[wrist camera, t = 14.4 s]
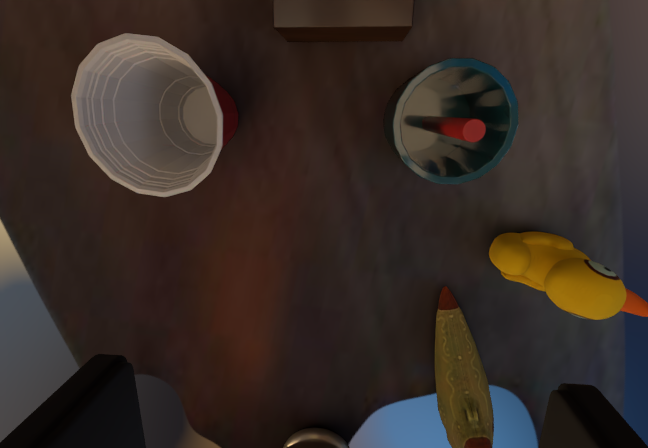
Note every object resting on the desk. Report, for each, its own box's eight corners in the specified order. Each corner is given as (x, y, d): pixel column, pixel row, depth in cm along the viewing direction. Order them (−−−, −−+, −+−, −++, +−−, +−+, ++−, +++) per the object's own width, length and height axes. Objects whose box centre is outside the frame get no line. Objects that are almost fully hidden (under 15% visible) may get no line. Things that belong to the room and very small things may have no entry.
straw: (422, 116, 35) (463, 118, 21) (436, 116, 34) (487, 118, 21) (421, 130, 35) (461, 142, 22) (435, 131, 35) (484, 142, 21)
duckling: (601, 245, 37) (686, 291, 28) (575, 292, 39) (647, 351, 29) (491, 211, 37) (538, 246, 27) (470, 259, 39) (507, 308, 29)
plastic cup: (147, 153, 38) (58, 170, 27) (167, 42, 35) (75, 8, 24) (248, 187, 38) (202, 219, 27) (277, 80, 35) (239, 65, 24)
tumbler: (385, 73, 34) (396, 58, 25) (480, 73, 34) (528, 57, 24) (380, 164, 37) (388, 182, 27) (468, 166, 36) (509, 185, 26)
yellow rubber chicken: (416, 284, 40) (435, 337, 30) (469, 276, 39) (505, 329, 30) (439, 435, 45) (461, 521, 36) (485, 430, 44) (520, 517, 35)
